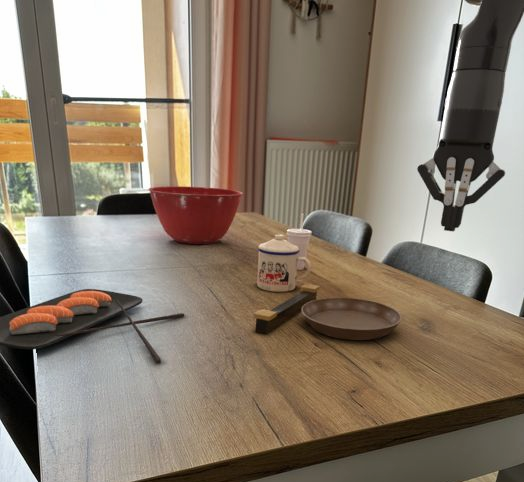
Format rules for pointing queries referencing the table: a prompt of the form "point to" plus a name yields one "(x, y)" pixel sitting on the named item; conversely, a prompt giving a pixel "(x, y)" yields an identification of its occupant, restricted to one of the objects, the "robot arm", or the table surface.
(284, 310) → the rail
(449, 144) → the robot arm
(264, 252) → the teacup with lid
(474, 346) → the table surface
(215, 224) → the mixing bowl
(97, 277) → the table surface
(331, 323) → the plant saucer
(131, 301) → the sushi plate
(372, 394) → the table surface
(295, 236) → the smoothie
